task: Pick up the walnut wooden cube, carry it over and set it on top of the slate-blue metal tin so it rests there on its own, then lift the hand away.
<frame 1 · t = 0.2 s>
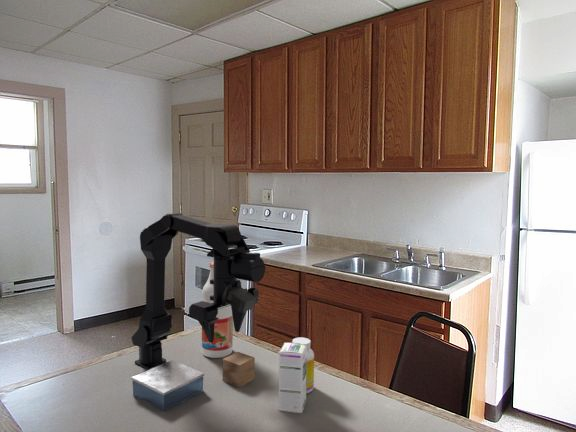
hand: (224, 336, 107), 14 cm above the table, tool pointing down, fingers open, 9 cm apart
fruit juice: (217, 352, 131), on the table
supplement bottle: (300, 389, 110), on the table
walnut block: (238, 379, 114), on the table
slate tin: (168, 394, 106), on the table
syrup box: (292, 406, 101), on the table
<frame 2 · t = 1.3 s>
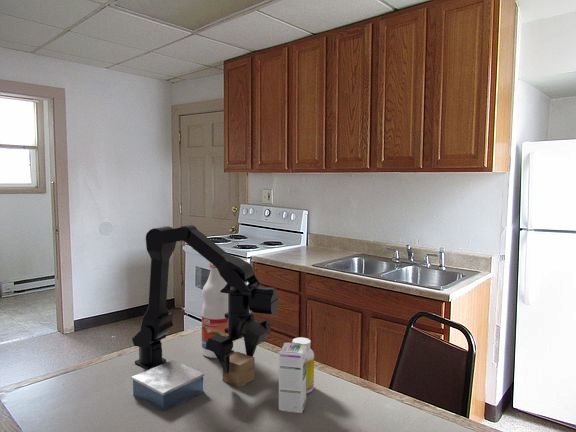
hand: (238, 366, 114), 3 cm above the table, tool pointing down, fingers open, 9 cm apart
nothing on the table moved.
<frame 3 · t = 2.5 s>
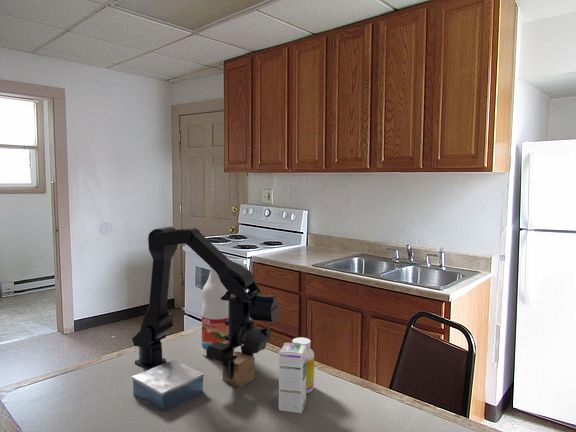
hand: (238, 373, 114), 2 cm above the table, tool pointing down, fingers closed on walnut block, 6 cm apart
walnut block: (238, 379, 114), on the table, touching gripper
everything else where it was.
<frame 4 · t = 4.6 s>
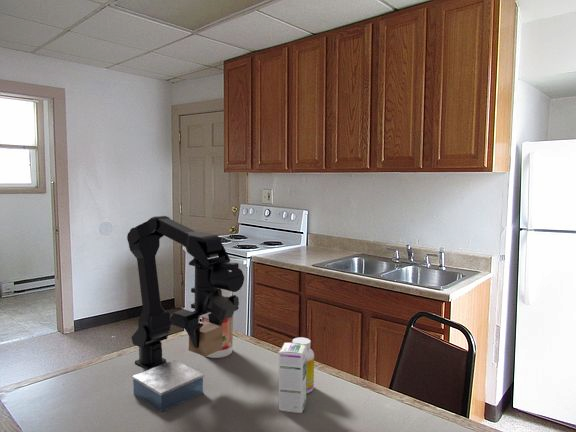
hand: (205, 343, 109), 11 cm above the table, tool pointing down, fingers closed on walnut block, 6 cm apart
walnut block: (205, 349, 109), point 10 cm above the table, touching gripper
everything else where it was.
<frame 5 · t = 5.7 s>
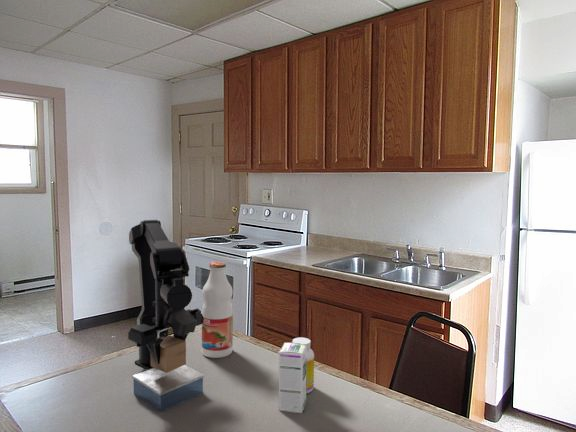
hand: (168, 359, 105), 9 cm above the table, tool pointing down, fingers closed on walnut block, 6 cm apart
walnut block: (168, 365, 106), point 7 cm above the table, touching gripper
everything else where it was.
when the fingers open (8 cm above the table, at t = 6.8 s): walnut block drops 1 cm, resting on slate tin.
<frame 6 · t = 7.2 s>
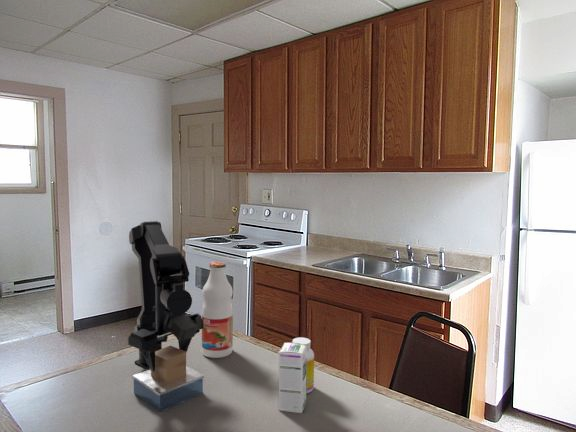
hand: (168, 364, 105), 8 cm above the table, tool pointing down, fingers open, 9 cm apart
walnut block: (168, 375, 106), point 5 cm above the table, touching slate tin
slate tin: (168, 394, 106), on the table, touching walnut block
everything else where it was.
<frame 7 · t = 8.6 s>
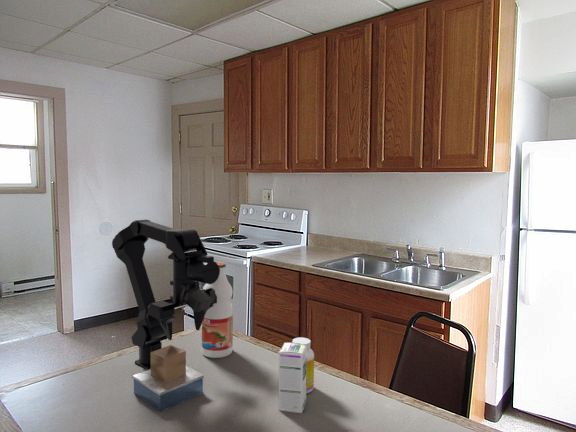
hand: (184, 334, 113), 12 cm above the table, tool pointing down, fingers open, 9 cm apart
walnut block: (168, 374, 106), point 5 cm above the table
slate tin: (168, 394, 106), on the table
everything else where it was.
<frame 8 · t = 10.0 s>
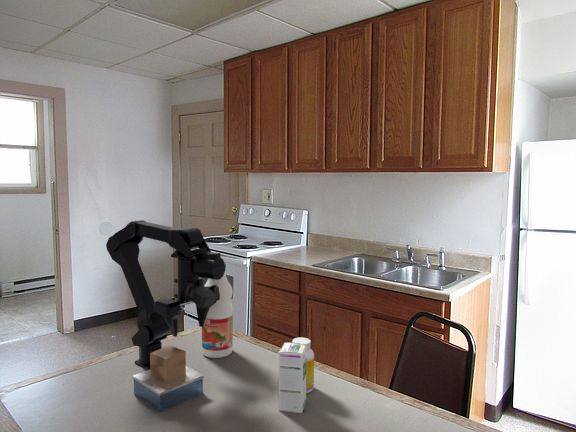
hand: (188, 331, 115), 12 cm above the table, tool pointing down, fingers open, 9 cm apart
walnut block: (168, 375, 106), point 5 cm above the table, touching slate tin
slate tin: (168, 394, 106), on the table, touching walnut block
everything else where it was.
at the end: walnut block inside the target area on the slate tin (0.1 cm from its centre), point 5.0 cm above the slate tin's base; walnut block tilted 0°; the gripper is holding nothing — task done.
